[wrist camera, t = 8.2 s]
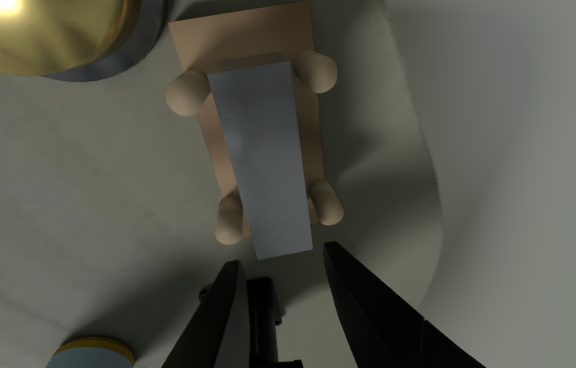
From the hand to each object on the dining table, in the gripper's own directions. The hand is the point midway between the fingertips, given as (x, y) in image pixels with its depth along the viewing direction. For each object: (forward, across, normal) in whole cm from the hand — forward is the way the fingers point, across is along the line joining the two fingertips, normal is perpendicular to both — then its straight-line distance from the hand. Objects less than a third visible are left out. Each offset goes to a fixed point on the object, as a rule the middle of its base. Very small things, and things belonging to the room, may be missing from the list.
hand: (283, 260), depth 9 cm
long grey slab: (+10, 0, 0) cm, 10 cm away
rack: (+11, 0, 0) cm, 11 cm away
